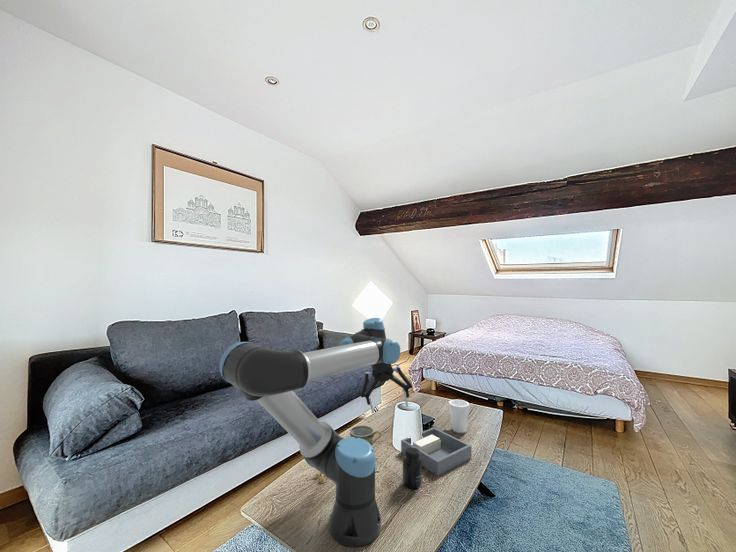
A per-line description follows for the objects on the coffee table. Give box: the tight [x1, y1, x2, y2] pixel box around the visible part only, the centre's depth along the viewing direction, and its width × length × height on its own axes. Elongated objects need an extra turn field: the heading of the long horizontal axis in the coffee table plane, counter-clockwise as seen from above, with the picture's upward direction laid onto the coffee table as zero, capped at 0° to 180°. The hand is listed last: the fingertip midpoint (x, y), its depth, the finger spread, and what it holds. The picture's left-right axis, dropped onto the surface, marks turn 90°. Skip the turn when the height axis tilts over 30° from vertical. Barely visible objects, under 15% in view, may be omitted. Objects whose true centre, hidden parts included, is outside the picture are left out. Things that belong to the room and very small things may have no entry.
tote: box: [400, 427, 472, 477], centre depth 129 cm, size 20×20×6 cm
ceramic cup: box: [349, 424, 382, 447], centre depth 132 cm, size 13×10×10 cm
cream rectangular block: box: [413, 435, 441, 454], centre depth 133 cm, size 12×5×4 cm, turn 126°
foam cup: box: [448, 399, 470, 434], centre depth 154 cm, size 10×9×13 cm
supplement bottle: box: [402, 447, 423, 491], centre depth 112 cm, size 7×7×12 cm
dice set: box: [315, 472, 326, 484], centre depth 116 cm, size 5×5×2 cm
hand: (389, 408), depth 124 cm, fingers open, 13 cm apart
